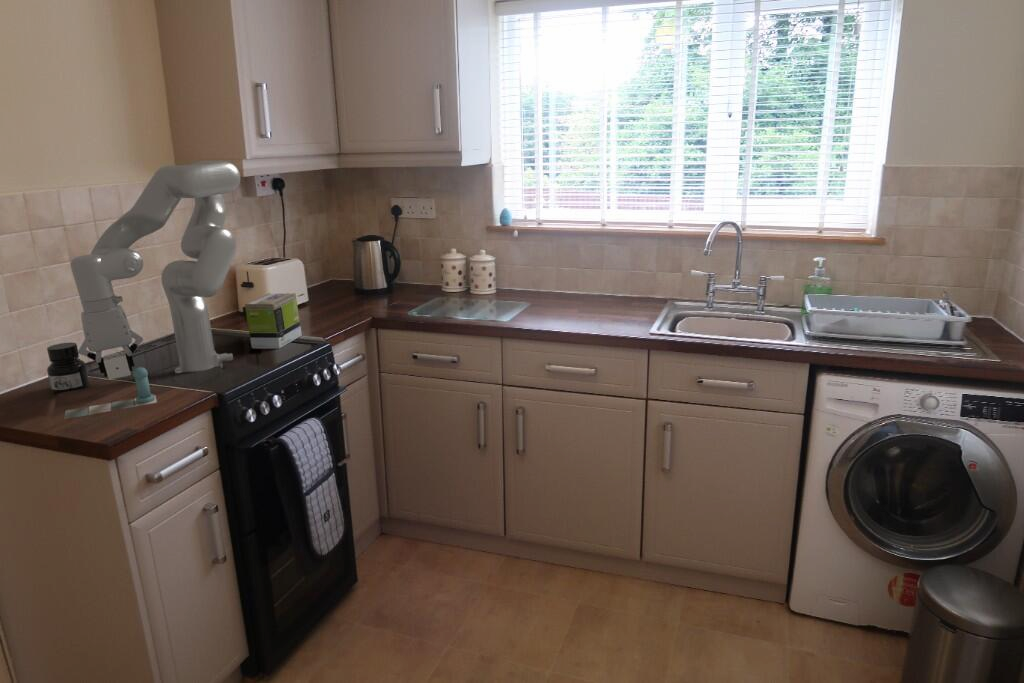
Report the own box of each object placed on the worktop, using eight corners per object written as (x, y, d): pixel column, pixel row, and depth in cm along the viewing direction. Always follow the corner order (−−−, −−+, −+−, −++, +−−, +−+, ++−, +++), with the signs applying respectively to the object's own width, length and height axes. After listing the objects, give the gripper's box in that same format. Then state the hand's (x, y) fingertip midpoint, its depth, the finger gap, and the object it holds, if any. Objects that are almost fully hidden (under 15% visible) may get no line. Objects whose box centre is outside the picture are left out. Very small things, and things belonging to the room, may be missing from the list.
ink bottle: (43, 394, 192) (33, 351, 189) (62, 383, 201) (53, 342, 197) (79, 393, 192) (70, 350, 189) (97, 382, 201) (89, 340, 197)
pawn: (154, 396, 183) (147, 364, 181) (154, 401, 180) (148, 368, 177) (136, 399, 181) (130, 366, 179) (136, 404, 178) (130, 371, 176)
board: (156, 399, 185) (155, 394, 185) (158, 407, 179) (157, 402, 179) (66, 415, 176) (65, 410, 176) (64, 424, 170) (63, 419, 170)
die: (130, 369, 190) (125, 351, 188) (130, 375, 185) (125, 356, 184) (108, 374, 188) (103, 355, 186) (108, 380, 183) (103, 361, 182)
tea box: (274, 335, 242) (269, 292, 237) (302, 336, 239) (297, 292, 235) (250, 348, 227) (243, 302, 223) (279, 349, 225) (273, 303, 221)
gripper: (136, 294, 187) (154, 360, 193) (61, 308, 180) (81, 376, 186) (138, 301, 181) (155, 368, 187) (59, 315, 173) (80, 385, 180)
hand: (118, 371), depth 186 cm, fingers closed on die, 5 cm apart
